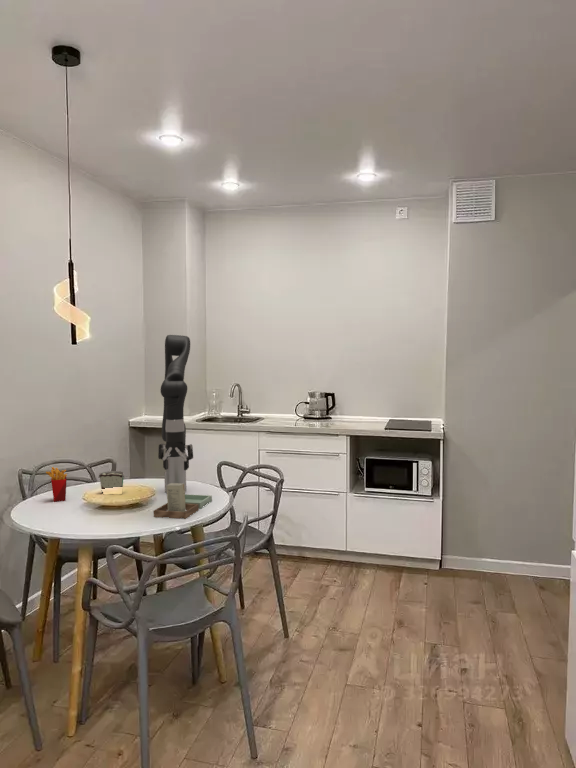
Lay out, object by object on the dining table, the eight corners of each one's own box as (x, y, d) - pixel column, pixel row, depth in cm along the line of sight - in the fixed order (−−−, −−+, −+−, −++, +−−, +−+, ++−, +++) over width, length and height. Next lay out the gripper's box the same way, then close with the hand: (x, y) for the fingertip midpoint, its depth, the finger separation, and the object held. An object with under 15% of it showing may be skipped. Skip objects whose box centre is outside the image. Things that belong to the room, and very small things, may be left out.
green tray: (169, 507, 256) (169, 501, 256) (182, 499, 269) (182, 494, 268) (200, 508, 253) (200, 503, 252) (211, 501, 265) (211, 495, 265)
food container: (129, 491, 285) (128, 470, 285) (124, 494, 279) (123, 473, 279) (104, 491, 287) (103, 470, 286) (99, 494, 280) (98, 473, 280)
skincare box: (186, 512, 247) (185, 483, 246) (181, 515, 243) (180, 485, 242) (172, 511, 249) (171, 482, 248) (166, 514, 245) (166, 484, 244)
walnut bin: (153, 516, 241) (153, 510, 241) (167, 508, 254) (167, 502, 254) (185, 518, 238) (185, 512, 238) (198, 510, 251) (198, 504, 250)
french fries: (67, 497, 275) (66, 465, 274) (67, 501, 268) (66, 468, 267) (46, 499, 272) (45, 466, 271) (46, 504, 264) (45, 470, 263)
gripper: (195, 429, 246) (195, 468, 247) (162, 428, 249) (163, 467, 250) (187, 431, 239) (188, 472, 240) (154, 431, 242) (155, 470, 243)
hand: (176, 469), depth 245 cm, fingers open, 8 cm apart
